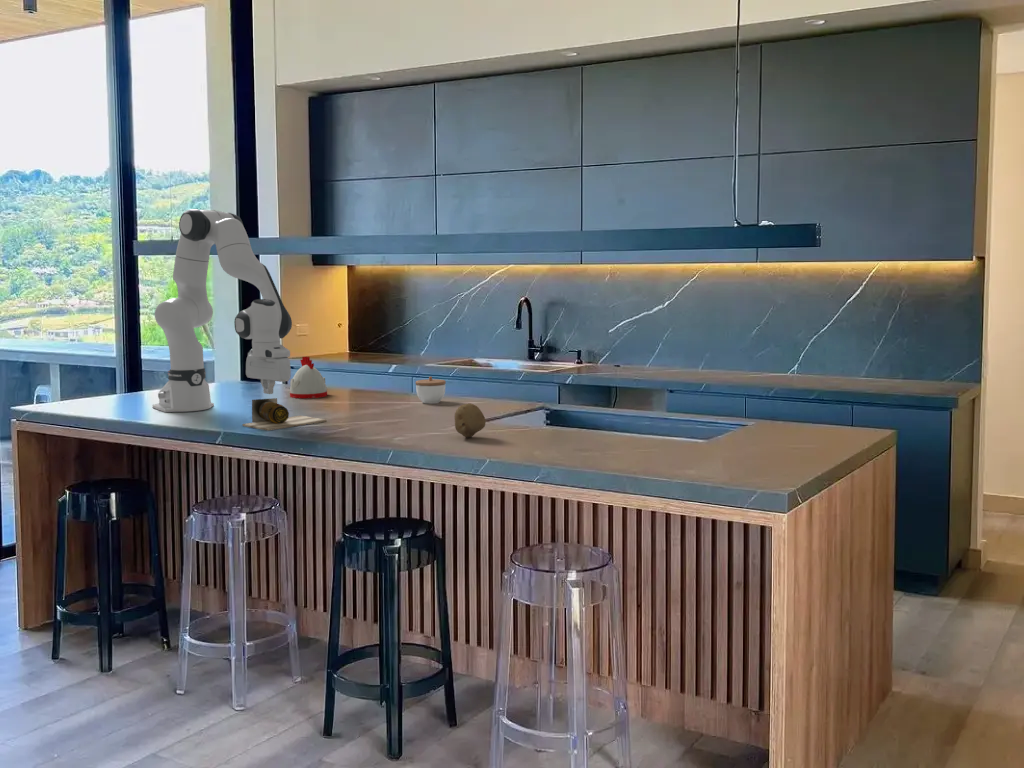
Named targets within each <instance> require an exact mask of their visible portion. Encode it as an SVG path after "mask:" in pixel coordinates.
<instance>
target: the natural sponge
mask: <svg viewBox="0 0 1024 768" xmlns="http://www.w3.org/2000/svg"><path fill="white" fill-rule="evenodd" d="M485 417H486V416H484V413H483V411H482V410H481V409H480V407H478V406H477V405H476V404H473V403H464V404H461V405H459V407H457V408H456V410H455V412H454V428H455V430H456V432H457V433H458V434H460V435H461V436H463V438H467V439H468V438H472V437H473V436H474V435H476V434H477V433H478V432H481V431H482V430H483V429H484V428H485V426H486V422H487V420H486V418H485Z"/></svg>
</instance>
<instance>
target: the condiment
mask: <svg viewBox="0 0 1024 768" xmlns="http://www.w3.org/2000/svg"><path fill="white" fill-rule="evenodd" d="M289 415H290V412H289V409H288V408H286V407H285V406H284V405H282V404H279V403H278V398H276V397H274V398H262V399H261V398H259V399H257V398H256V399H252V400H251V420H252V421H251V423H253V422H260V421H266V420H267V421H271V422H274V423H283V422H285V421H286V420H287V419H288V417H290V416H289Z"/></svg>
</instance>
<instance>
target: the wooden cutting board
mask: <svg viewBox="0 0 1024 768" xmlns="http://www.w3.org/2000/svg"><path fill="white" fill-rule="evenodd" d="M325 422H327V419H324V418H317V417H313V416H306V415H295V416H289V417H288V419H287V420H286V421H285V422H283V423H274V422H271V421H267V420H266V421H260V422H246V423H242V427H245V428H251V429H252V428H253V429H257V430H261V431H274V430H275V431H276V430H281V429H282V430H283V429H287V428H288V429H289V428H294V426H295V427H299V426H300V425H301V426H306V424H308V425H312V424H313V423H314V424H318V423H325ZM314 424H313V425H314ZM301 426H300V427H301Z"/></svg>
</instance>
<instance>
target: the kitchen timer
mask: <svg viewBox="0 0 1024 768" xmlns="http://www.w3.org/2000/svg"><path fill="white" fill-rule="evenodd" d="M300 365H301V367H300V368H298V370H297V371H296V372H295V374H294V375H293V377H292V378H290V380H289V381H290V388H289V398H292V399H318V398H325V397H327V396H328V389H327V385H326V377H323V375H322V374H321V372H320V371H319V370H318V369H317V368H316V367H315V363H313V360H312V359H310V356H302V358H301V359H300Z"/></svg>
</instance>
